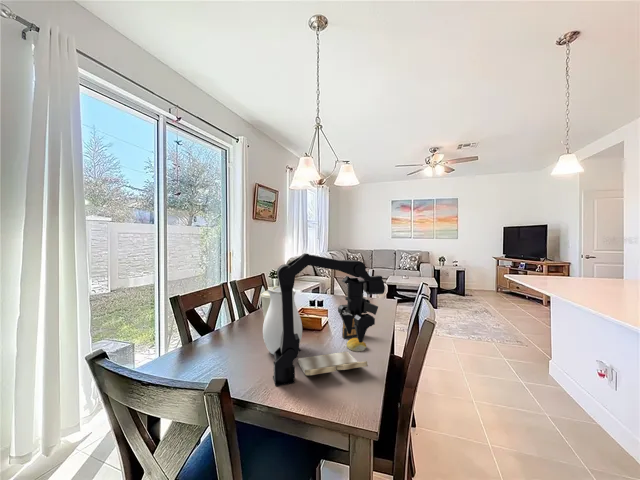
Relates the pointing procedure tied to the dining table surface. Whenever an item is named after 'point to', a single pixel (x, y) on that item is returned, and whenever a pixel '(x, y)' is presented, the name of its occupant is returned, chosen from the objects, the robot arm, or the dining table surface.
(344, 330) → the ammunition clip
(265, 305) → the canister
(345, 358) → the board
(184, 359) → the dining table surface
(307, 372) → the plank inner
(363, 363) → the plank outer
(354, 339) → the bread roll
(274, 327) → the pitcher
